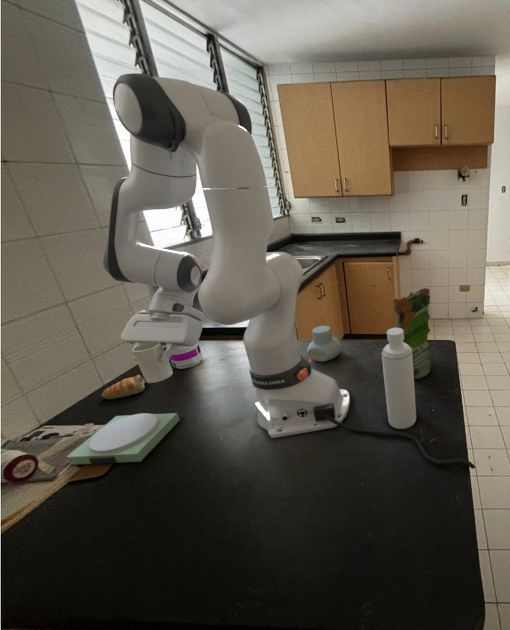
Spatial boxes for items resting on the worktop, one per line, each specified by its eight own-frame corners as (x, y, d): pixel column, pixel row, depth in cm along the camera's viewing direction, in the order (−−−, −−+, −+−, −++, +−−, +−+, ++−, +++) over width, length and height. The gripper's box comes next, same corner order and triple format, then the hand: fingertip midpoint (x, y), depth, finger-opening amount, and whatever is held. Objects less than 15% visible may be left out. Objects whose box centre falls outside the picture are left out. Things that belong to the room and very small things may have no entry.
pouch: (432, 359, 105) (429, 283, 95) (435, 381, 94) (432, 297, 84) (396, 361, 104) (390, 285, 95) (395, 383, 93) (388, 300, 84)
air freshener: (347, 352, 111) (343, 325, 107) (334, 365, 104) (329, 336, 100) (319, 348, 114) (314, 322, 110) (304, 361, 107) (298, 333, 103)
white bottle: (400, 406, 84) (392, 315, 74) (421, 416, 80) (416, 321, 71) (382, 422, 79) (371, 326, 69) (404, 433, 75) (396, 334, 66)
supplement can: (193, 369, 105) (177, 326, 100) (167, 370, 106) (150, 327, 100) (208, 356, 113) (195, 315, 107) (184, 357, 113) (170, 316, 107)
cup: (178, 369, 89) (166, 339, 86) (162, 382, 84) (149, 350, 80) (156, 371, 89) (143, 341, 86) (140, 383, 84) (125, 352, 80)
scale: (180, 420, 83) (176, 410, 82) (139, 463, 71) (133, 452, 69) (119, 422, 83) (115, 413, 82) (68, 466, 71) (62, 455, 70)
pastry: (103, 405, 90) (97, 393, 89) (104, 393, 95) (99, 382, 94) (146, 390, 95) (141, 379, 94) (145, 381, 100) (140, 370, 99)
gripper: (125, 305, 88) (103, 356, 83) (193, 306, 84) (174, 359, 79) (147, 314, 94) (127, 362, 89) (211, 315, 90) (195, 365, 85)
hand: (150, 361), depth 84 cm, fingers closed on cup, 6 cm apart
